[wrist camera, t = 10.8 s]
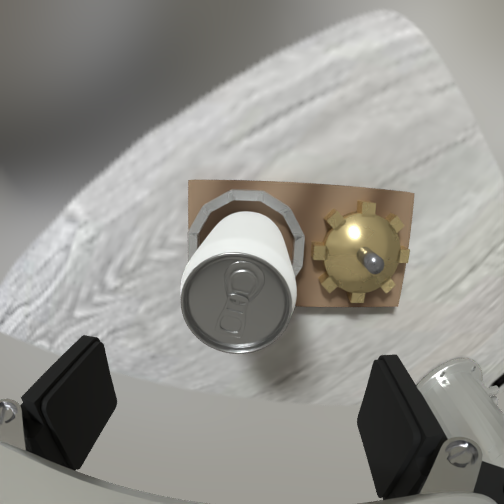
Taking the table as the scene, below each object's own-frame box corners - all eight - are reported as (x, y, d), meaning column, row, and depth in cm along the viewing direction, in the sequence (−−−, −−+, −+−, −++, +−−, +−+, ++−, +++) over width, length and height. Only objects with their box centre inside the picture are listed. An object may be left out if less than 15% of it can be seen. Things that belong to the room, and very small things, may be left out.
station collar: (305, 192, 26) (307, 193, 24) (297, 299, 28) (299, 304, 27) (190, 188, 26) (187, 189, 25) (192, 294, 28) (189, 300, 27)
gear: (407, 204, 26) (431, 212, 21) (394, 296, 28) (413, 316, 23) (314, 197, 26) (325, 203, 21) (306, 295, 28) (314, 317, 24)
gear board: (407, 192, 27) (414, 193, 25) (392, 300, 30) (398, 306, 28) (192, 179, 27) (188, 180, 26) (193, 295, 30) (190, 301, 29)
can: (294, 222, 26) (319, 265, 15) (271, 291, 28) (277, 372, 16) (219, 201, 26) (186, 227, 14) (201, 271, 28) (163, 341, 16)
